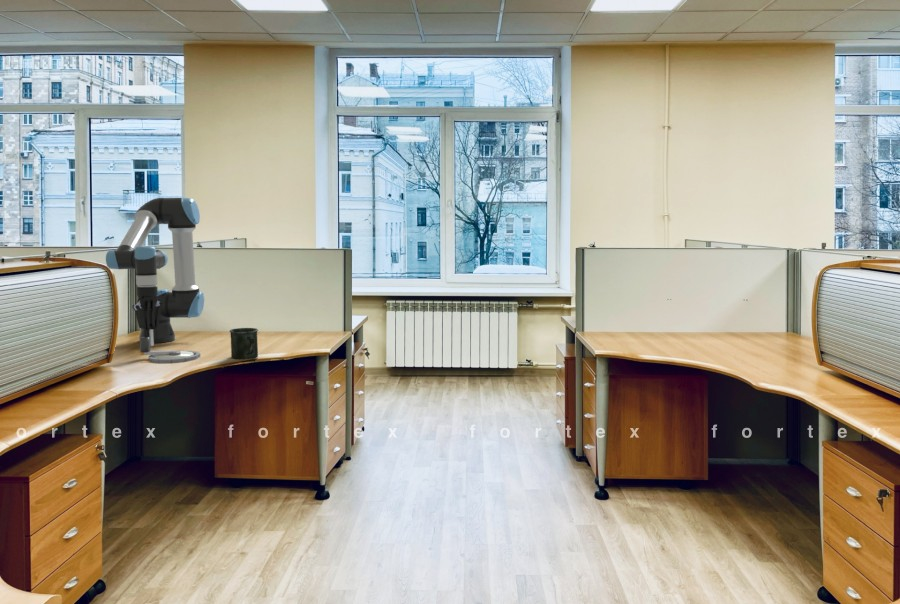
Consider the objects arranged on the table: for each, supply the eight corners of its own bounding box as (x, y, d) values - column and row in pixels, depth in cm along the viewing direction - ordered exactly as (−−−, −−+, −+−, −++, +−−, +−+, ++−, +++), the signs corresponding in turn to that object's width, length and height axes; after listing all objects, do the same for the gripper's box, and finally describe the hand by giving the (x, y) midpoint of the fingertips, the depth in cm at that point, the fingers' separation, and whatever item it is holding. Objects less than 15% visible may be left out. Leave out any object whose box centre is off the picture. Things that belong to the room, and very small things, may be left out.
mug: (252, 356, 288) (251, 326, 287) (267, 361, 277) (266, 331, 275) (226, 359, 281) (225, 329, 280) (240, 365, 270) (238, 334, 269)
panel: (126, 367, 265) (126, 361, 265) (155, 354, 291) (155, 348, 291) (196, 367, 265) (195, 361, 265) (218, 354, 291) (218, 349, 291)
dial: (196, 354, 286) (196, 333, 285) (189, 360, 272) (188, 339, 271) (145, 355, 283) (144, 334, 282) (135, 362, 269) (134, 340, 268)
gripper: (153, 284, 284) (156, 342, 287) (126, 287, 273) (129, 347, 275) (167, 284, 281) (169, 343, 284) (140, 287, 269) (143, 349, 272)
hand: (149, 345), depth 280 cm, fingers closed
